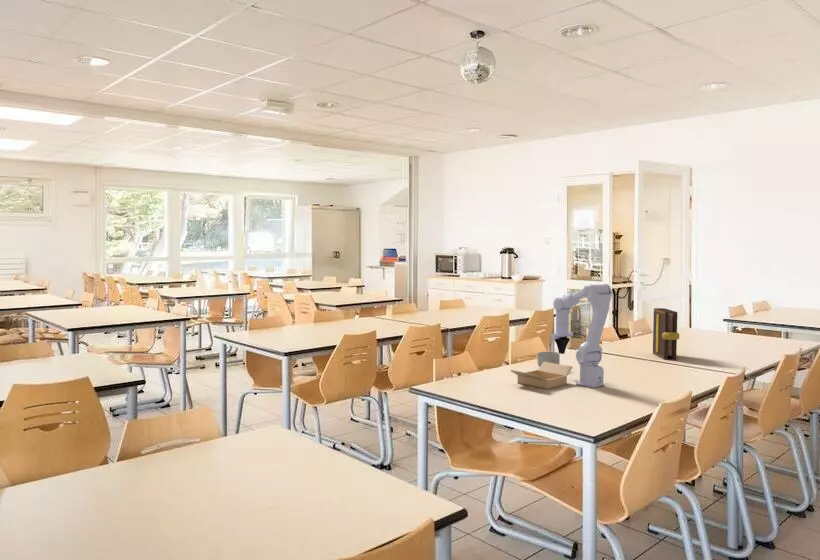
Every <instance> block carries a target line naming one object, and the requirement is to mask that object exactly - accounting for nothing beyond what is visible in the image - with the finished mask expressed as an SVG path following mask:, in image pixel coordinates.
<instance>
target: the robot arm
mask: <svg viewBox="0 0 820 560" xmlns="http://www.w3.org/2000/svg"><path fill="white" fill-rule="evenodd" d="M612 296H613V290H612V288H611V286H610V285H609V284H608V283H602V284H587V285H585V286H583V288H581V289H580V290H579V291H577V292H576V291H569V292H568V293H567V294H566V295H562V297H556V298H554V300H553V303H552V304H553V308H554V310H555V332H553V334H550V340H554V342H555V343H556V345H557V349H558V351H557V352H558V353H560V354H559V355H561V354H562V355H565V353H566V349H567V346H568V343H569V342H570V341H571V340H570V338H569V337H574V332H572V331H570V330H569V329H570V327H569V325H570V324H569V322H570V316H569V315H570V314H571V309H572V307H574V306H577V305H578V304H579V303H580V301H581V300H582V299H584V298H586V299H587V301H588V303H590V304H589V305H591V307H592V308H594V309H593V310H594V311H593V314H592V318H591V321H590V324H589V328H588V332H587V335H586V338H585V341H584V342H582V343H581V344H580V345H579V348H578V349H577V351H576V352H575V359H576V361H577V364H578V365H579V381H577V382H575V385H578V386H584V387H587V388H588V387H589V388H593V389H594V388H600V387H602V386H605V383H604V373H605V372H604V368H603V366H601V365H599V364H600V362H601V361H602V357H603V354H602V353H603V347H602V346H601V345H600V342H601V337H602V336H603V335H602V334H603V332H604V331H603V330H604V327H605V324H606V320H607V317H608V314H609V310H610V303H611V299H612Z"/></svg>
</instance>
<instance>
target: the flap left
mask: <svg viewBox="0 0 820 560" xmlns="http://www.w3.org/2000/svg"><path fill="white" fill-rule="evenodd" d="M510 372H512V373H513V374H515V375H516V376H517V377H518V376H523V377H528V378H533V379H538V380H543V381H547V380H546V379H544V378H543V377H541V376H539V375H534V374H529V373H525V371H517V370H513V369H510Z"/></svg>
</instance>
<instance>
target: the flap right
mask: <svg viewBox="0 0 820 560" xmlns="http://www.w3.org/2000/svg"><path fill="white" fill-rule="evenodd" d="M572 369H573V366H571V365H565V364H561V363H559V364H554V363H549V362H543V363H542V365H541V366H540V367H539V366H538V369H537V370H539V371H545V372H550V373H555V374H561V375H566V376H567V377H568V375H569V373H570V372H571V371H572Z"/></svg>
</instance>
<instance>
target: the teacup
mask: <svg viewBox="0 0 820 560" xmlns="http://www.w3.org/2000/svg"><path fill="white" fill-rule="evenodd" d="M560 355H561V354H560V353H559V351H553V350H551V351H540V352H537V353H536V356H537V357H536V359H537V361H536V362H537V365H538V368H539V367H540V366H541V365H542V363H543V362H549V363H554V364H561V363H560V362H561V361H560V360H561V359H560V358H561V357H560Z"/></svg>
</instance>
